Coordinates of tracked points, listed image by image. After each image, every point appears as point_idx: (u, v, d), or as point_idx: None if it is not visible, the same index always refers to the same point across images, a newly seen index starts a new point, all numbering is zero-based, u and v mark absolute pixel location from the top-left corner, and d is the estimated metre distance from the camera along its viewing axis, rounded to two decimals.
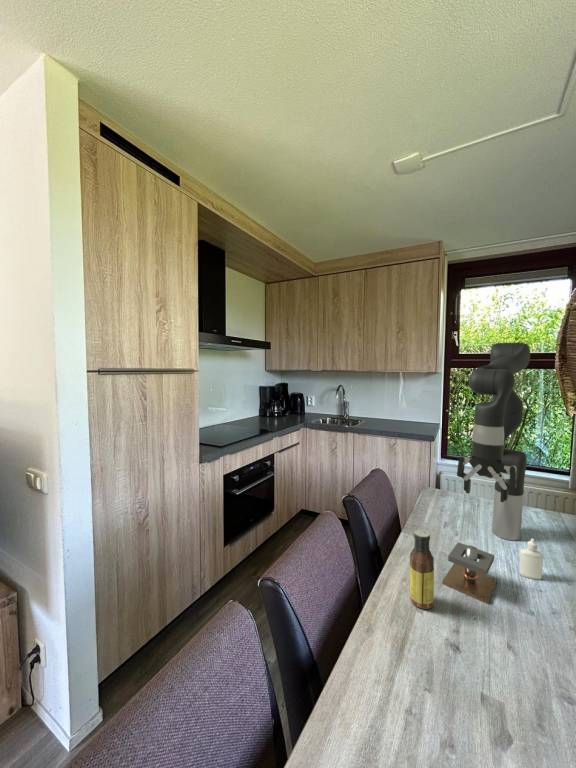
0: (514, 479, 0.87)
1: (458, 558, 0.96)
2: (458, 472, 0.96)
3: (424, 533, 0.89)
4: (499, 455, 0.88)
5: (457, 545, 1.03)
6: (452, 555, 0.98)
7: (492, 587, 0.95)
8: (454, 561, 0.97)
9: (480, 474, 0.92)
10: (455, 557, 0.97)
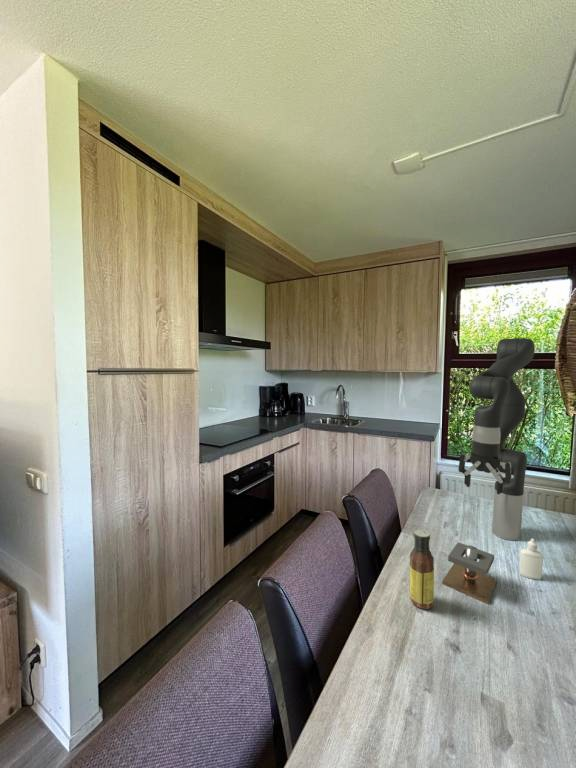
0: (509, 474, 0.99)
1: (458, 558, 0.96)
2: (459, 468, 1.08)
3: (424, 533, 0.89)
4: (496, 453, 1.00)
5: (457, 545, 1.03)
6: (452, 555, 0.98)
7: (492, 587, 0.95)
8: (454, 561, 0.97)
9: (479, 469, 1.04)
10: (455, 557, 0.97)
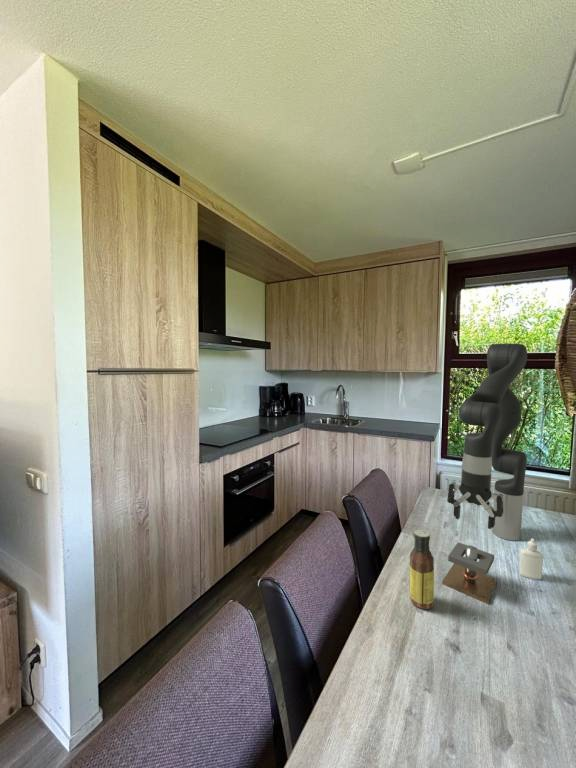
0: (501, 508, 0.91)
1: (458, 558, 0.96)
2: (448, 498, 1.00)
3: (424, 533, 0.89)
4: (487, 484, 0.93)
5: (457, 545, 1.03)
6: (452, 555, 0.98)
7: (492, 587, 0.95)
8: (454, 561, 0.97)
9: (469, 501, 0.97)
10: (455, 557, 0.97)
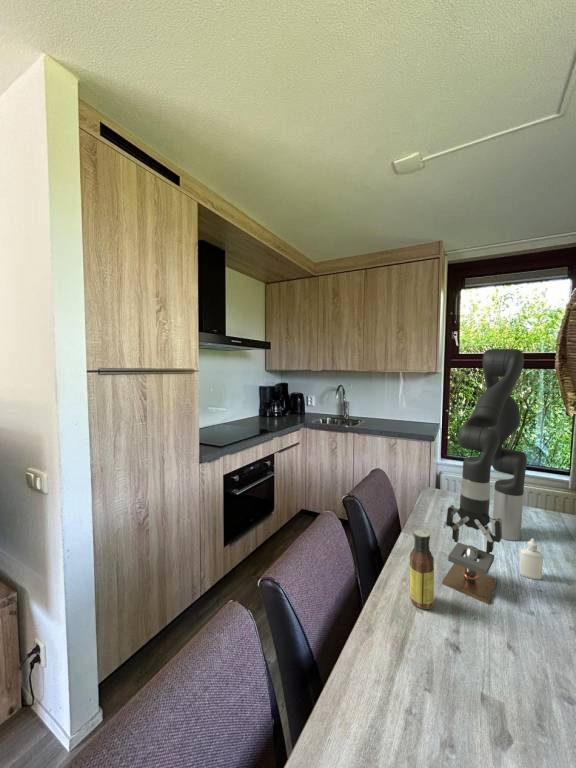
0: (499, 533, 0.92)
1: (458, 558, 0.96)
2: (447, 521, 1.01)
3: (424, 533, 0.89)
4: (485, 510, 0.93)
5: (457, 545, 1.03)
6: (452, 555, 0.98)
7: (492, 587, 0.95)
8: (454, 561, 0.97)
9: (467, 525, 0.97)
10: (455, 557, 0.97)
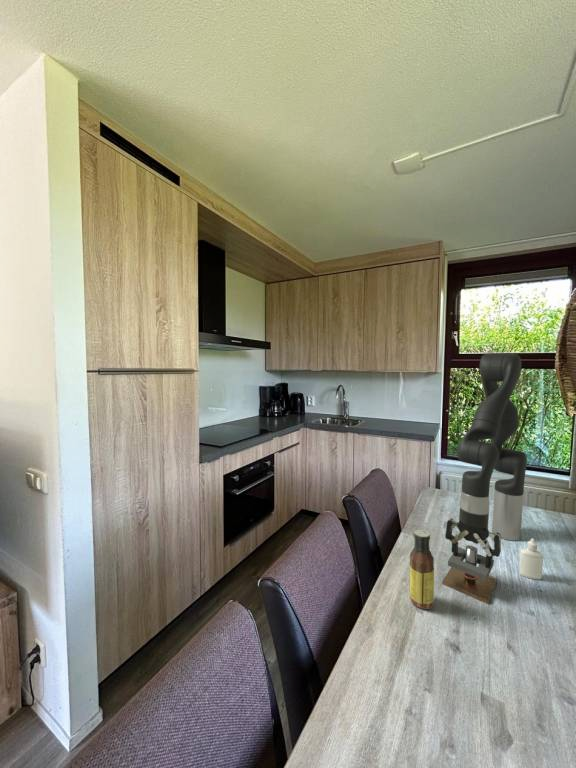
0: (498, 547, 0.92)
1: (458, 563, 0.96)
2: (446, 535, 1.01)
3: (424, 533, 0.89)
4: (484, 524, 0.94)
5: None
6: (452, 560, 0.98)
7: (492, 587, 0.95)
8: (453, 566, 0.97)
9: (467, 539, 0.98)
10: (455, 562, 0.97)
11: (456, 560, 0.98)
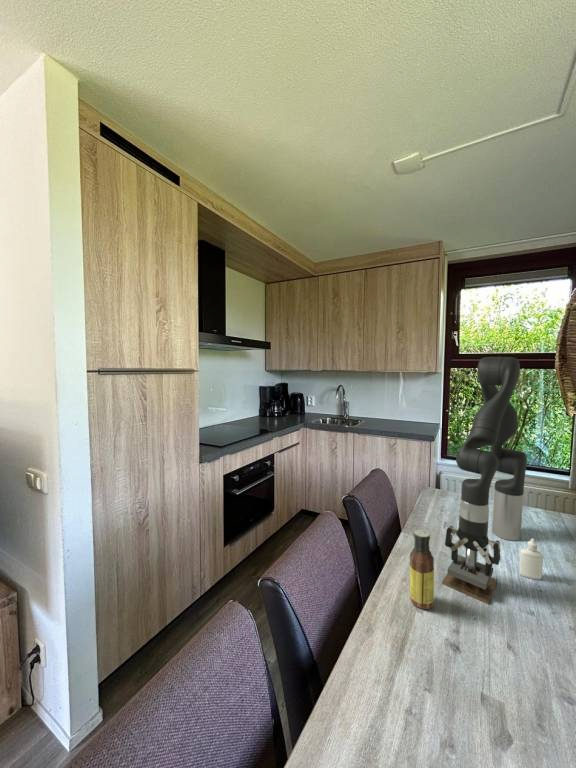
0: (497, 555, 0.92)
1: (457, 571, 0.97)
2: (446, 542, 1.01)
3: (424, 533, 0.89)
4: (484, 532, 0.94)
5: None
6: (451, 568, 0.98)
7: (492, 587, 0.95)
8: (453, 575, 0.97)
9: (466, 546, 0.98)
10: (454, 570, 0.97)
11: (456, 568, 0.98)
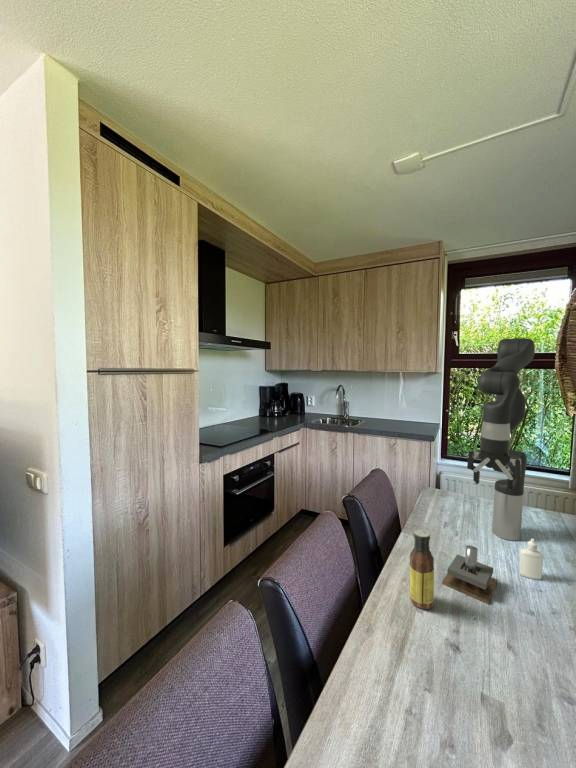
0: (519, 470, 0.97)
1: (457, 571, 0.97)
2: (468, 465, 1.06)
3: (424, 533, 0.89)
4: (506, 449, 0.98)
5: (456, 557, 1.03)
6: (451, 568, 0.98)
7: (492, 587, 0.95)
8: (453, 575, 0.97)
9: (488, 466, 1.02)
10: (454, 570, 0.97)
11: (456, 568, 0.98)
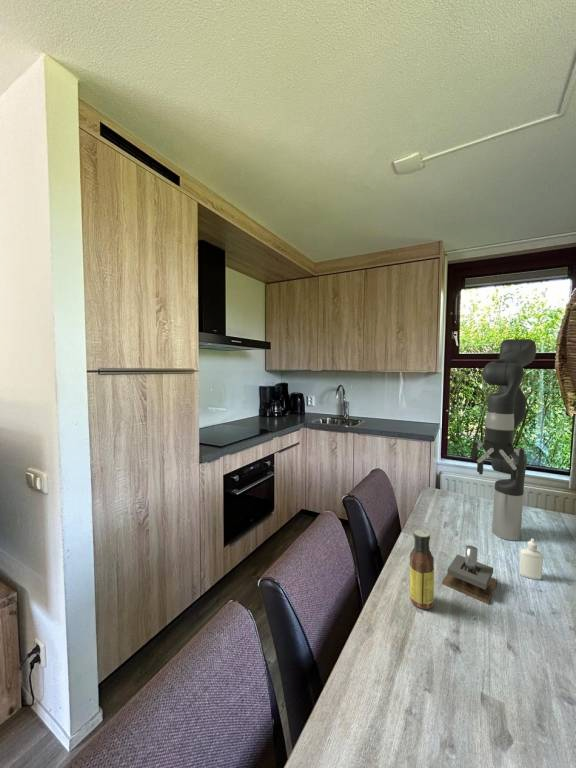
0: (523, 460, 0.98)
1: (457, 571, 0.97)
2: (472, 455, 1.07)
3: (424, 533, 0.89)
4: (510, 439, 1.00)
5: (456, 557, 1.03)
6: (451, 568, 0.98)
7: (492, 587, 0.95)
8: (453, 575, 0.97)
9: (492, 457, 1.03)
10: (454, 570, 0.97)
11: (456, 568, 0.98)
